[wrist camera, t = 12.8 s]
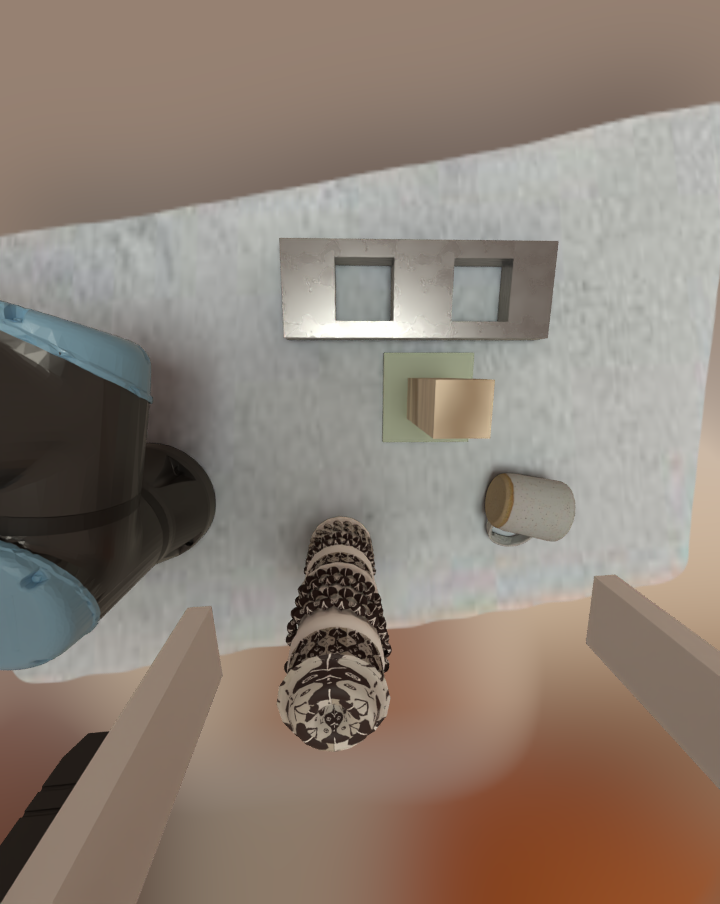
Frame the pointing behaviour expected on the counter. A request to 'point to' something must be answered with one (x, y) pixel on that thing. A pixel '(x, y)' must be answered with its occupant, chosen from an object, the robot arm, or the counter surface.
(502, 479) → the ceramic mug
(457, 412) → the peg
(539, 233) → the counter surface
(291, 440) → the counter surface
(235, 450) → the counter surface
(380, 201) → the counter surface
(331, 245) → the grey flat slotted plate
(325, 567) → the decorative candle
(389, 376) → the mat
